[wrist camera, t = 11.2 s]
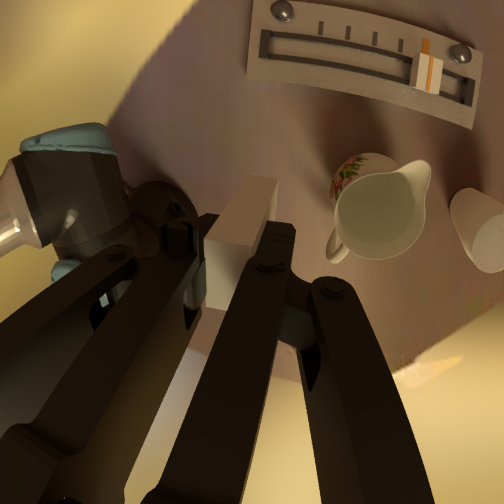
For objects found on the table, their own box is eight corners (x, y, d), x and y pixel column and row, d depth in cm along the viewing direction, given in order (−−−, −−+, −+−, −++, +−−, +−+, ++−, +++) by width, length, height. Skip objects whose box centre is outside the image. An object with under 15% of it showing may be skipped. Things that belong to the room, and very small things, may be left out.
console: (249, 79, 38) (242, 78, 34) (256, 2, 31) (250, -5, 28) (466, 127, 33) (477, 132, 30) (477, 54, 27) (489, 52, 24)
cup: (461, 169, 37) (497, 198, 27) (497, 198, 37) (533, 232, 27) (432, 216, 42) (458, 257, 32) (469, 241, 42) (497, 283, 32)
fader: (404, 86, 32) (416, 87, 27) (408, 55, 29) (420, 52, 25) (425, 93, 31) (438, 95, 27) (429, 62, 29) (443, 60, 24)
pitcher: (299, 212, 47) (288, 260, 35) (366, 115, 37) (385, 128, 25) (355, 248, 48) (362, 304, 36) (425, 161, 38) (461, 194, 26)
